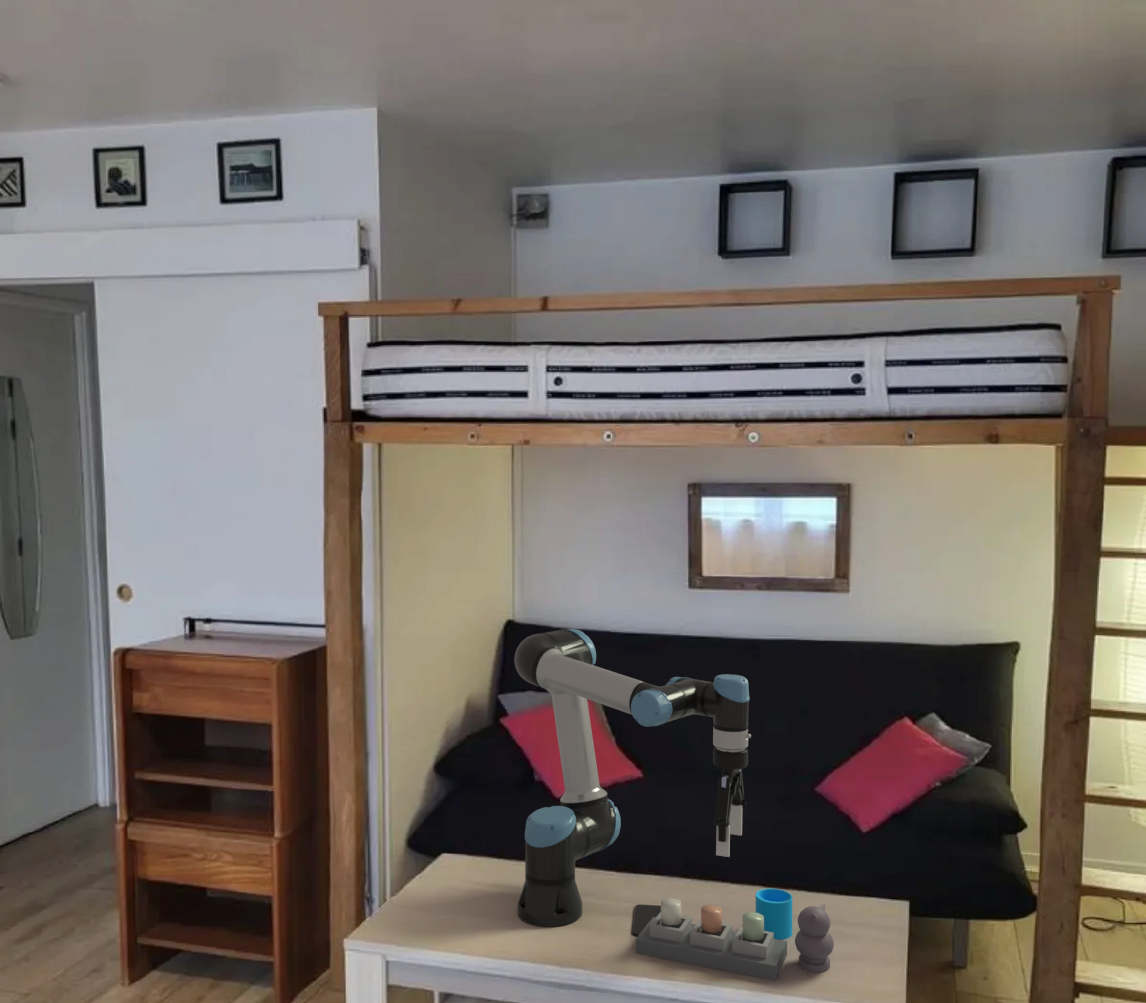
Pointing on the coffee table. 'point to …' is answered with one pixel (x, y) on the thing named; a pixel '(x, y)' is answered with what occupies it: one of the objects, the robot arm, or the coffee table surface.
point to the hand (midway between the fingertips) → (729, 844)
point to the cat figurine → (814, 939)
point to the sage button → (753, 926)
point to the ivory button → (671, 911)
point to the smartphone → (643, 917)
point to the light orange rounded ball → (711, 918)
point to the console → (713, 948)
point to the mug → (775, 911)
